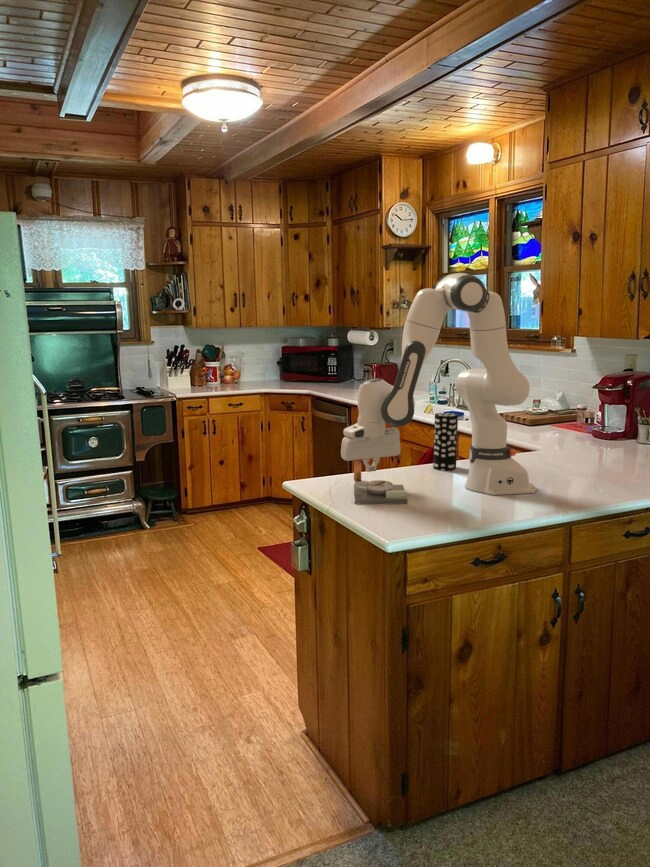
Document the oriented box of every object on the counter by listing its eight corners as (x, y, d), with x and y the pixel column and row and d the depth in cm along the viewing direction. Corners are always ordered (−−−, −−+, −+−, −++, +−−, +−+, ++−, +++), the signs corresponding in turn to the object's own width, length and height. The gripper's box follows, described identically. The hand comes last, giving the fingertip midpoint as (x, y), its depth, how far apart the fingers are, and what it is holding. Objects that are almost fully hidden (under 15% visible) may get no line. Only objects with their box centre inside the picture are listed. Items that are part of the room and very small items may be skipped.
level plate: (402, 489, 229) (402, 479, 228) (407, 504, 212) (407, 493, 212) (353, 488, 229) (353, 479, 229) (354, 503, 213) (355, 493, 212)
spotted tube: (431, 469, 255) (433, 415, 251) (435, 464, 263) (437, 412, 259) (454, 471, 252) (456, 417, 249) (457, 466, 260) (459, 413, 256)
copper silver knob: (360, 484, 228) (360, 459, 227) (396, 490, 222) (397, 464, 220) (348, 490, 222) (348, 464, 220) (385, 496, 215) (386, 469, 213)
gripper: (394, 425, 231) (394, 465, 233) (338, 430, 223) (338, 472, 225) (404, 428, 225) (403, 470, 228) (347, 433, 217) (347, 476, 219)
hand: (371, 471), depth 226 cm, fingers closed
